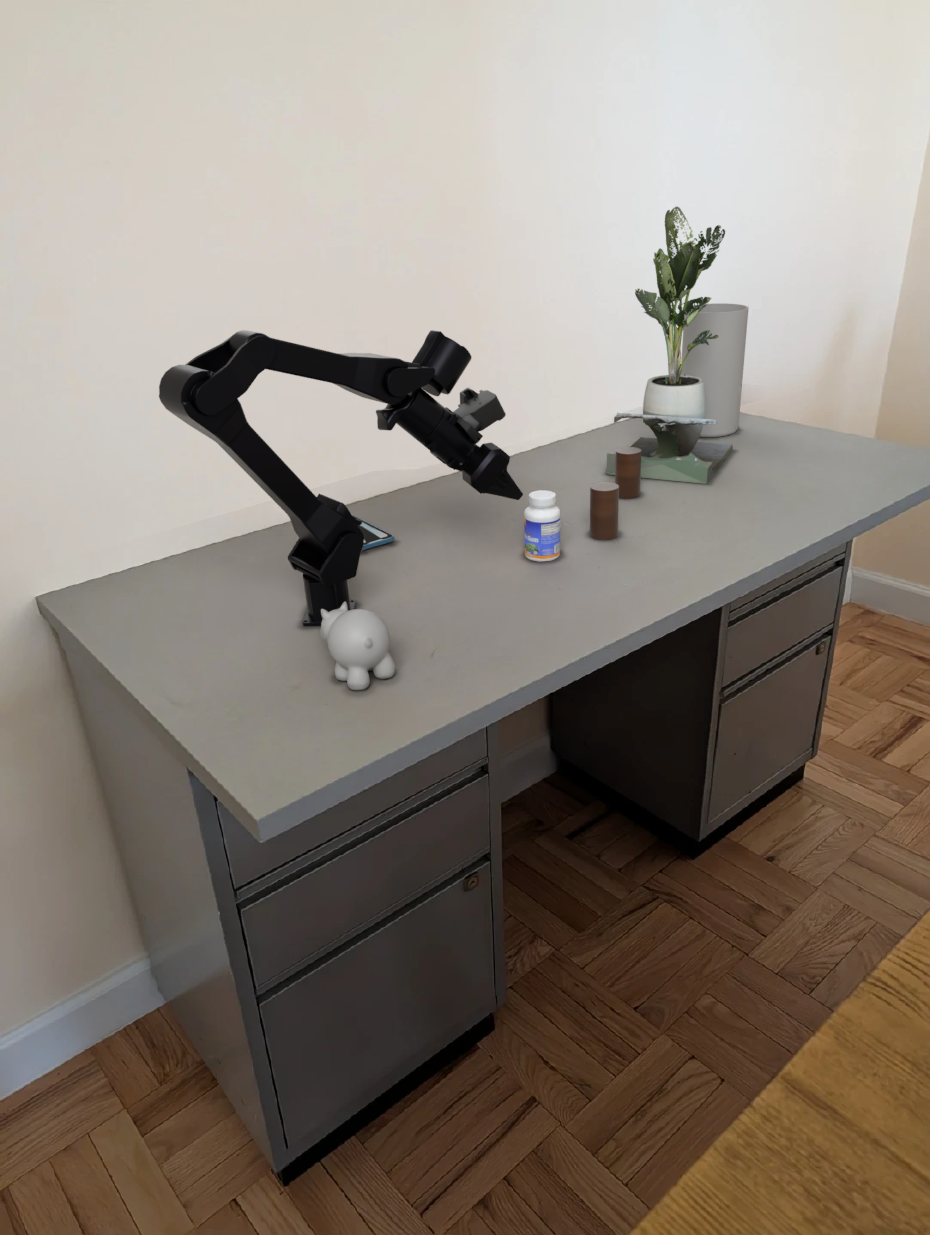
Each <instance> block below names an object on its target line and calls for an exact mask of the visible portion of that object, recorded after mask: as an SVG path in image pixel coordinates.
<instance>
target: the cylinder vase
mask: <svg viewBox="0 0 930 1235" xmlns="http://www.w3.org/2000/svg"><path fill="white" fill-rule="evenodd" d="M706 304H707V306H705V307H703V309H702V310H701V311H700V312H699V311H698V312H697V313H698V314H697V316H696V318H695V319H694V320H693V321H692V322H691V323H690V324H689V325H688V326H687V325H685V326H687V327H684V329H683V332H682V341H681V363H682V362H683V360H684V358H685V356H686V355H687V353H688V349H690V348H688V349H687V346H688V345H689V344H690V343H692V342H693V341H694V339H695V338H696V337H698V335H699V336H700V333H701V332H703V331H707V330H710V332H709V334H708V335H710V334H711V333H712V336H710V337H713V336H715V335H718V336H719V337H718V336H717V337H718V338H716V339H706V340H707V342H708V344H709V345H707V344H706V343H704V344H699V345H697V346H695V347H694V348H693V349H691V351H690V352H689V354H688V356H687V358H686V360H685V363H684V365H683V368H682V371H681V374H682V375H684V374H683V373H685V375H690V376H697V377H700V378H702V379H703V380H704V386H705V398H706V405H705V418H704V419H713V420H717V424H709V425H703V427H702V431H701V434H700V436H699V438H720V437H726V436H730V435H733V434H735V433H736V432H738V430H739V427H740V426H739V425H740V416H741V415H740V414H741V400H742V390H743V377H744V367H745V355H746V343H747V332H748V330H747V329H748V320H749V306H747V305H745V304H740V303H706ZM706 304H705V305H706ZM693 306H694V304H693ZM703 306H704V305H703ZM700 307H701V308H702V306H700ZM692 310H693V309H691V312H692ZM699 310H700V309H699ZM691 312H690V311H689V312H688V315H685V314H684V319H685V320H686V319H687V317H688V316H689V313H691ZM686 314H687V313H686ZM685 320H684V321H685ZM707 333H708V332H707ZM708 335H707V336H708ZM707 336H706V337H707ZM702 337H703V335H702ZM699 339H701V338H700V337H699ZM695 340H696V339H695ZM694 344H695V343H694Z"/></svg>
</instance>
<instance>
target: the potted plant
mask: <svg viewBox="0 0 930 1235" xmlns="http://www.w3.org/2000/svg"><path fill="white" fill-rule="evenodd" d="M685 223H686V224H685ZM678 224H679V225H678ZM685 225H686V226H688V228H686V227H685ZM679 228H680V229H679ZM721 228H722V225H719V224H718V225H716V226H715V227H714V229H712V226H709V227H707V228H706V230H705V236H704V233H703V230H701V231H700V232H699V233H698V238H696V237H695V238H694V234H693V230H692V227H691V226H690V224H689V221H688V219H687V217H686V216H685V214H684V212H683V211H682V208H681V207H679V206H675V207H673V208H672V209H671V210H670V209H668V210H666V212H665V216H664V229H665V244H666V251H667V252H666V253H667V254H665V251H664V249H662V248H658V250H657V251H656V252H654V253H653V254H654V256H653V257H652V258H653V261H652V262H653V265H654V267H655V268H654V269H655V274H656V275H655V276H656V285H657V289H658V293H659V296H658V293H657V292H651V291H648V290H645V289H642V288H641V289H640V288H637V289H635V291H634V294H635V297H636V299H637V301H638V302H639V303H640V305H641V306H640V307H641V308H642V309H644V311H643V314H646V315H647V316H649V317H650V318H652V319H655V320H656V321H657V322H658V324H659V326H661V328H662V331H663V335H664V340H665V344H666V345H665V346H666V351H667V352H666V353H667V368H668V370H667V371H668V374H665V375H664V374H663V375H657V376H653V377H650V378H648V379H647V382H646V385H645V390H644V396H643V403H642V413H628V412H616V415H615V416H614V417H613V424H616V423H617V422H619V421H621V420H622V419H627V418H628V419H642V423H643V424H645V425H646V426H647V427H649V429H650V430H651V431H652V432H653V434H654V436H655V438H654V437H644V436H643V437H642V436H641V437H639V438H638V439H637V440H635V442H634V443H632V444H631V445H629V447H636V448H639V449H641V478H643V479H652V480H661V481H662V480H663V481H674V482H683V483H692V484H694V483H695V484H703V485H704V484H705V485H707V484H708V483H709V481H710V480H711V479H712V477H714V475H715V474H716V473H717V471H718V470H719V469H720V467H721V466H722V465H723V463H724V461H726V459H728V457H729V456H730V455H731V453H732V452H733V449H734V448H733V447H734V445H733V444H732V443H731V444H730V443H720V442H719V443H718V442H709V441H699V438H700V437H699V436H700V434H701V431H702V427H703V425H709V424H717V420H713V419H704V418H705V405H706V398H705V386H704V380H703V379H702V378H700V377H697V376H690V375H685V373H683V374H684V375H682V374H681V371H682V368H683V365H684V363H685V360H686V358H687V356H688V354H689V352H690V351H691V349H693V348H694V347H695V346H697V345H699V344H704V343H706V344H707V345H709V344H708V342H707V340H706V339H716V338H718V337H719V336H718V335H715V336H713V337H710V336H712V333H711V334H710V335H708V334H709V332H710V330H707V331H703V332H701V333H700V336H699V335H698V337H696V338H695V339H696V340H695V339H694V341H693V342H692V343H690V344H689V345H688V346H687V349H688V348H690V349H688V353H687V355H686V356H685V358H684V360H683V362H682V363H681V361H682V349H681V348H682V340H683V329H684V327H687V326H688V325H689V324H690V323H691V322H692V321H693V320H694V319H695V318H696V316H697V314H698V313H697V312H698V311H699V312H700V311H701V310H702V309H703V307H705V306H707V304H709V302H710V301H711V300H712V297H709V296H704V297H703V296H700V297H697V298H693V299H690V300H689V296H690V293H691V291H692V289H693V288H694V287H695V285H696V284H697V280H698V279H699V277H700V275H701V273H702V272H703V271H706V270H709V269H710V268H711V266H712V264H713V262H714V261H715V259H716V258H717V256H718V255H717V253H719V251H720V249H719V248H720V245H721V243H722V242H723V240H724V238H725V235H726V230H725V229H724V228H722V229H721ZM679 230H682V234H683V235H684V236H683V237H684V238H685V237H686V239H685V240H683V241H682V240H679V243H678V242H677V239H678V238H679V236H678V234H679ZM683 230H684V231H683ZM686 230H690V231H689V233H687V231H686ZM690 239H692V240H690ZM698 239H699V240H698ZM695 241H696V242H697V243H696V242H695ZM684 242H685V243H684ZM709 246H710V247H709ZM706 248H708V250H707V251H706ZM703 249H704V250H703ZM704 256H705V257H704ZM684 297H685V299H684V302H683V298H684ZM705 304H706V305H705ZM693 305H694V306H693ZM703 305H704V306H703ZM700 306H702V308H701V307H700ZM677 309H678V312H677ZM691 309H693V310H692V312H691ZM699 309H700V310H699ZM689 311H690V312H691V313H689V316H688V317H687V319H686V320H685V319H684V314H685V315H688V312H689ZM686 313H687V314H686ZM684 320H685V321H684ZM685 325H687V326H685ZM707 332H708V333H707ZM702 335H703V337H702ZM707 335H708V336H707ZM706 336H707V337H706ZM717 336H718V337H717ZM699 337H700V338H701V339H699ZM694 343H695V344H694ZM615 456H616V453H606V475H611V476H615Z"/></svg>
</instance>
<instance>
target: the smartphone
mask: <svg viewBox="0 0 930 1235" xmlns="http://www.w3.org/2000/svg"><path fill="white" fill-rule="evenodd" d="M351 515H352V514H351ZM352 516H353V517H354V518H355V519H356V520H359V521H361V522H362V524H361V525H358V526H359V527H360V528H361V530H362V531H363V533H364V536H365V539H364V543H363V548H362V551H365V550H368V549H371V548H374V547H375V548H376V547H378V546H382V545H385V544H388V543H392V542H393V541H394V540H395V536H394V534H392V533H390V532H389V531H386V530H384V529H382V528H380V527H378V526H377V525H374V524H372V523H371V522H368V521H366V520H364V519H363V518H360V517H358V516H356V515H355V514H353V515H352Z"/></svg>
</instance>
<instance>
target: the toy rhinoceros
mask: <svg viewBox="0 0 930 1235" xmlns="http://www.w3.org/2000/svg"><path fill="white" fill-rule="evenodd" d="M321 615H322V618H323V620H322V623H321V625H320V629H319V631H320V632H319V633H320V636H321V638H322V640H324V641H325V642H326V643H327V648H328V651H329V654H330V656H331V657H332V658H333V660H334V661H335V664H334V675H335V678H336V679H337V681H342V682H346V683H347V687H348V688H349V689H350V690H352V691H363V690H365V689H367V688H368V687H369V686H370V683H371V680H370V675H369V672H373V675H374V676H375V678H377V679H379V680H383V679H389V678H392V677H393V676H394V674H395V673H396V665H395V662H394V660H393V657H392V656H391V654H390V653H389V649H390V645H391V636H390V631H389V627H388V625H387V624H386V622H385V621H384V619H383V618H382V617H381V616H379V615H378V614H377V613H375V612H373V611H371V610H369V609H364V608H355V609H353V610H349V611H348V606H347V603H346V601H345V602H344V603H343V604H342V606H341V607H340V608H339V609H336V610H332V611H330V612H328V611H326V610H324V609H321Z"/></svg>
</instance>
